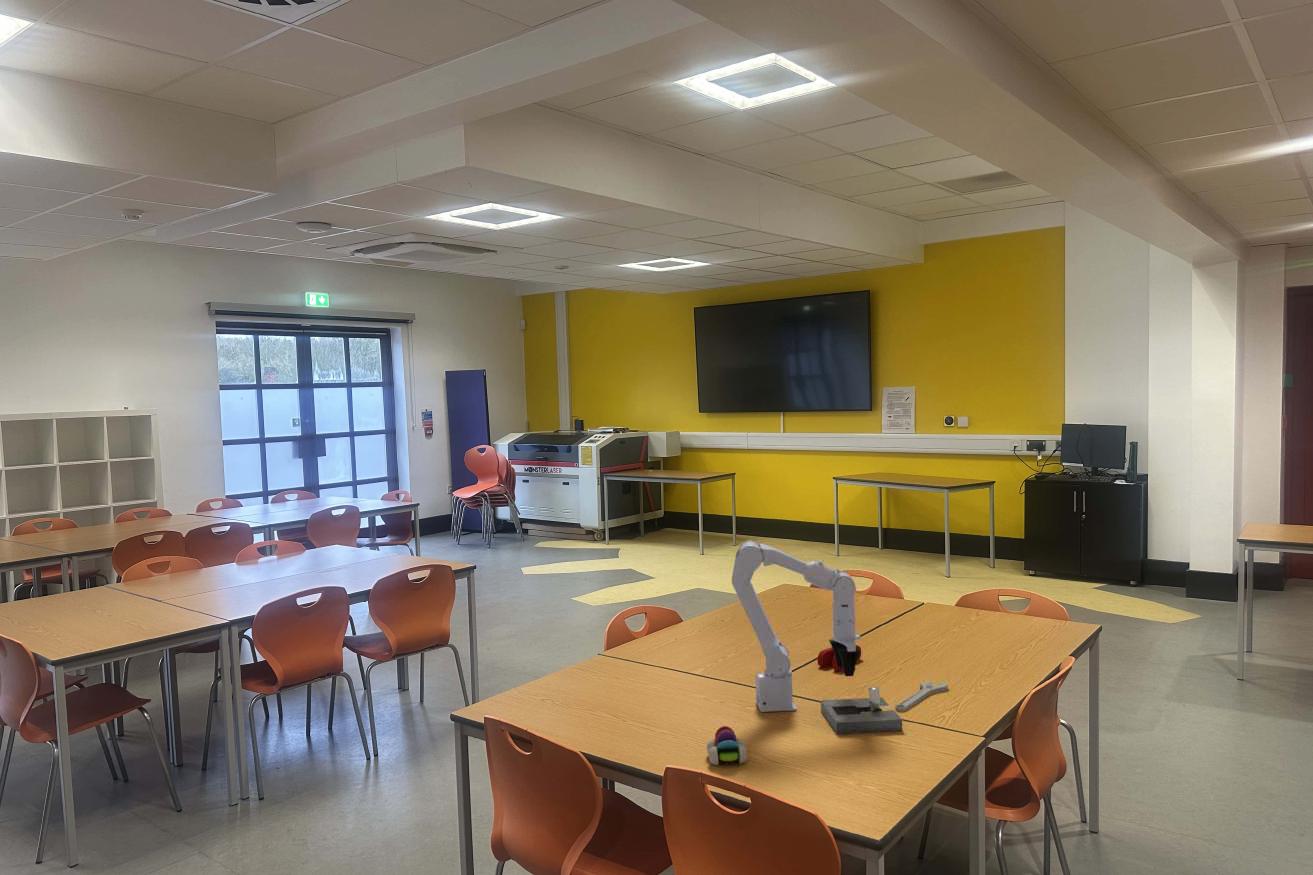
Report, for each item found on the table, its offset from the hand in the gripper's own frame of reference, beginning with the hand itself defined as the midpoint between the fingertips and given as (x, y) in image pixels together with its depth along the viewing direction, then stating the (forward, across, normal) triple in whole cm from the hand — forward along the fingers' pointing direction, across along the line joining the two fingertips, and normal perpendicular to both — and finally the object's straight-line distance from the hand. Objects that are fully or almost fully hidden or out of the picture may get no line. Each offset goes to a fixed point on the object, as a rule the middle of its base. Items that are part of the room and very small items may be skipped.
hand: (845, 671), depth 225 cm
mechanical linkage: (+10, +36, -9) cm, 39 cm away
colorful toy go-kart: (+10, -30, +35) cm, 47 cm away
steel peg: (+9, -10, -5) cm, 15 cm away
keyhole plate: (+9, -10, -1) cm, 14 cm away
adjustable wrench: (+10, +5, -21) cm, 23 cm away
